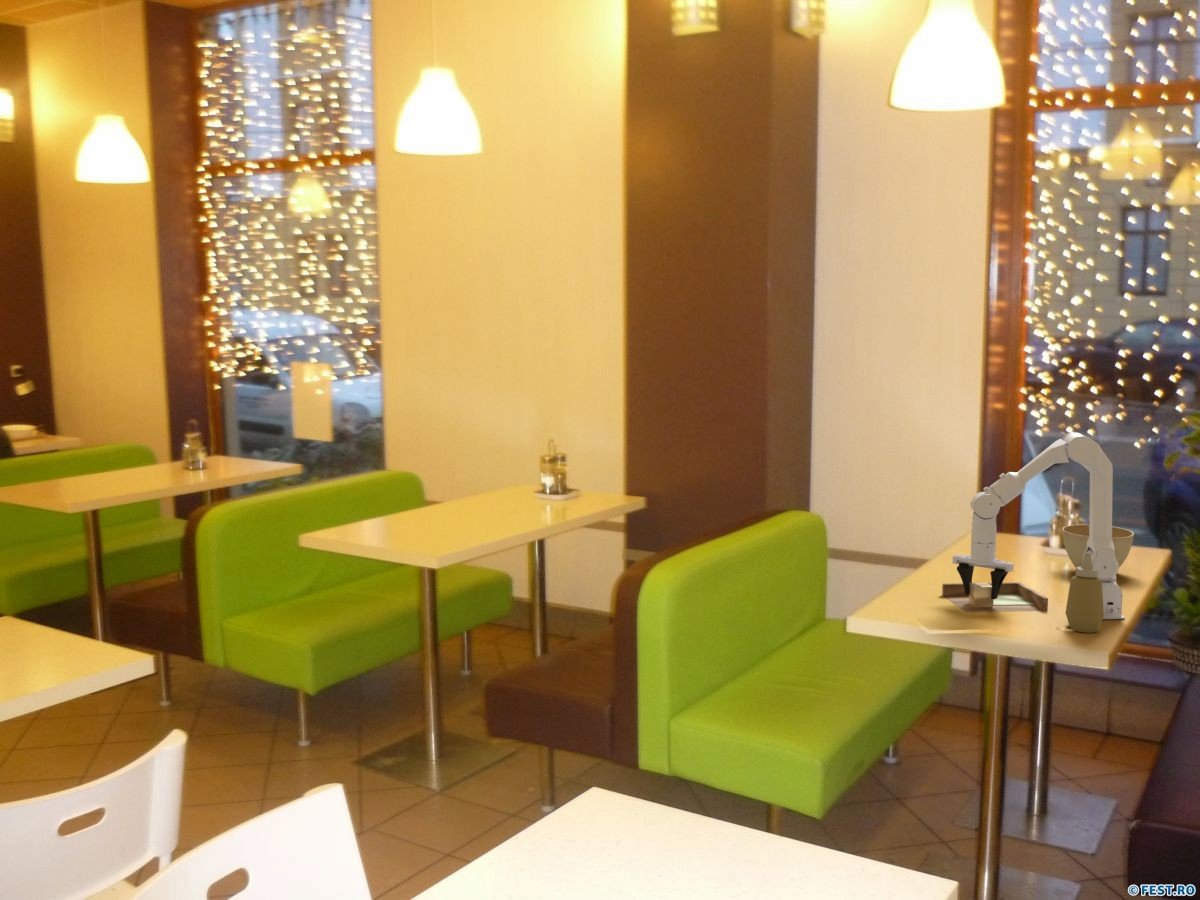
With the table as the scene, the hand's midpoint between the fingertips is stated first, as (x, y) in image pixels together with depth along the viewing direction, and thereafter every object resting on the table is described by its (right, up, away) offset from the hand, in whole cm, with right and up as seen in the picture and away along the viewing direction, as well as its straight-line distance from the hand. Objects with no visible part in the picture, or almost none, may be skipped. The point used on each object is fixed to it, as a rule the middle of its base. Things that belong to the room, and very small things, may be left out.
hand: (981, 596), depth 277 cm
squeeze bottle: (+17, -6, -18) cm, 26 cm away
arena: (+4, -3, +3) cm, 5 cm away
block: (0, -2, 0) cm, 2 cm away
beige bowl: (+44, +1, +36) cm, 57 cm away
